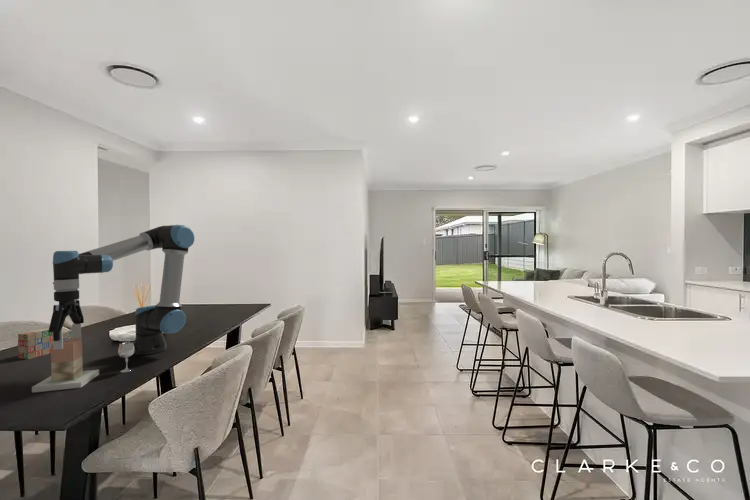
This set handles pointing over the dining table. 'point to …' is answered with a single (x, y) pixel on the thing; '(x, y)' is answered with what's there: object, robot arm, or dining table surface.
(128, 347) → the wineglass
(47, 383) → the base plate
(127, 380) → the dining table surface
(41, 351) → the stack of blocks
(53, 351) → the terracotta block
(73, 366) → the maple block
